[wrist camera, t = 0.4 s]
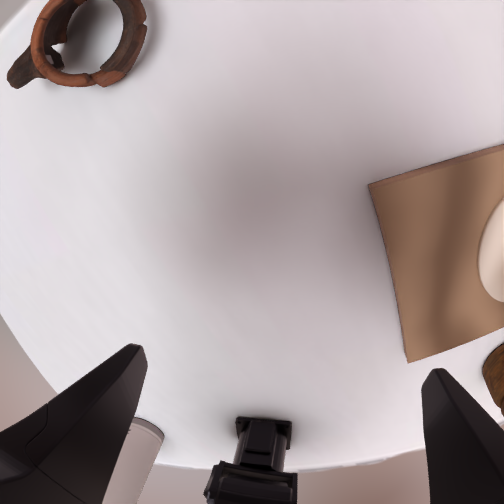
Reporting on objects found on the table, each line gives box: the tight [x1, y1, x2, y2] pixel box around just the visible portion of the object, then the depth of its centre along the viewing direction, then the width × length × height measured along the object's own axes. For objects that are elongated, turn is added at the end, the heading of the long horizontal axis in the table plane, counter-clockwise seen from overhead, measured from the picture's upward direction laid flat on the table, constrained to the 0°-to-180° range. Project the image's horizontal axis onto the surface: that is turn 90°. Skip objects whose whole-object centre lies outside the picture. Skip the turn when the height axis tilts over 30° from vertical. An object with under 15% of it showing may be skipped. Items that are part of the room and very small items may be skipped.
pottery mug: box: [7, 0, 147, 89], centre depth 16 cm, size 12×9×8 cm
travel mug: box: [102, 418, 164, 504], centre depth 30 cm, size 6×7×20 cm
